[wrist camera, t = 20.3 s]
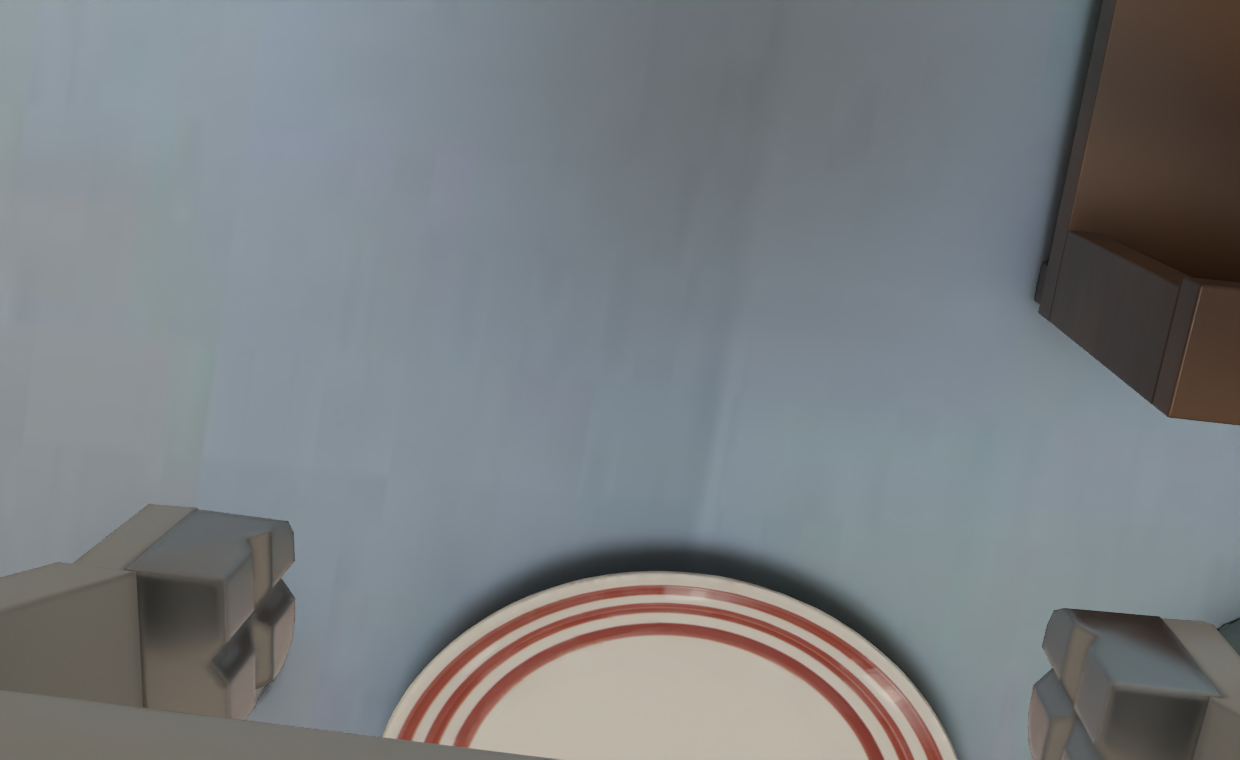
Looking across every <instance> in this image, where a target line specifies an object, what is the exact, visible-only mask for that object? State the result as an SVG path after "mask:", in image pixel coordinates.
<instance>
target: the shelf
mask: <svg viewBox="0 0 1240 760" xmlns="http://www.w3.org/2000/svg"><path fill="white" fill-rule="evenodd" d="M1035 301H1036V302H1038V303H1039V304H1040V306H1039V311H1038V312H1039V313H1040V314H1041V315H1042V316H1043V317H1044V318H1046V319H1047V320H1048V321H1050V322H1051V323H1052V324H1053V325H1055V326H1056V327H1057V328H1058V329H1060V330H1061V331H1062V332H1063V333H1065V334H1066V335H1067V336H1068V337H1069V338H1071V339H1072V340H1073V341H1074V342H1076V343H1077V344H1078V345H1079V346H1081V347H1082V348H1083V349H1084V350H1086V351H1087V352H1088V353H1089V354H1090V355H1092V356H1093V357H1094V358H1095V359H1097V360H1098V361H1099V362H1100V363H1102V364H1103V365H1104V366H1105V367H1106V368H1108V369H1109V370H1110V371H1111V372H1113V373H1114V374H1115V375H1116V376H1118V377H1119V378H1120V379H1121V380H1123V381H1124V382H1125V383H1126V384H1127V385H1129V386H1130V387H1131V388H1132V389H1134V390H1135V391H1136V392H1137V393H1139V394H1140V395H1141V396H1142V397H1144V398H1145V399H1146V400H1147V401H1148V402H1150V403H1151V404H1153V405H1154V406H1155V407H1156V408H1157V409H1159V410H1160V411H1161V412H1162V413H1163V414H1165V415H1166V416H1167V417H1170V418H1179V419H1188V420H1196V421H1205V422H1214V423H1223V424H1232V425H1240V0H1103V2H1102V7H1101V12H1100V17H1099V21H1098V26H1097V31H1096V36H1095V41H1094V46H1093V50H1092V55H1091V60H1090V65H1089V70H1088V75H1087V79H1086V84H1085V89H1084V94H1083V99H1082V104H1081V108H1080V113H1079V118H1078V123H1077V128H1076V132H1075V137H1074V142H1073V147H1072V152H1071V157H1070V161H1069V166H1068V171H1067V176H1066V181H1065V186H1064V190H1063V195H1062V200H1061V205H1060V210H1059V215H1058V219H1057V224H1056V229H1055V234H1054V239H1053V244H1052V248H1051V253H1050V258H1049V262H1042V265H1041V269H1040V274H1039V279H1038V284H1037V289H1036V294H1035Z"/></svg>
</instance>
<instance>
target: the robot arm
mask: <svg viewBox="0 0 1240 760" xmlns="http://www.w3.org/2000/svg"><path fill="white" fill-rule="evenodd" d="M294 561H295V553H294V532H293V530H292V528H291V526H290V524H289V522H288V521H284V520H276V519H269V518H261V517H253V516H246V515H238V514H230V513H223V512H215V511H208V510H199V509H198V508H194V507H182V506H169V505H156V504H148V505H147V506H146V507H144V508H143V509H142V510H141V511H139V512H138V513H137V514H135V515H134V516H133V517H132V518H130V519H129V520H128V521H126V522H125V523H124V524H123V525H121V526H120V527H119V528H118V529H116V530H115V531H114V532H112V533H111V534H110V535H109V536H107V537H106V538H105V539H103V540H102V541H101V542H100V543H98V544H97V545H96V546H95V547H93V548H92V549H91V550H89V551H88V552H87V553H86V554H84V555H83V556H82V557H80V558H79V559H78V560H77V561H75V562H74V563H73V564H69V563H60V562H57V563H53V564H50V565H46V566H42V567H38V568H35V569H31V570H27V571H23V572H20V573H16V574H12V575H8V576H5V577H1V578H0V760H560V759H552V758H544V757H536V756H528V755H520V754H512V753H504V752H496V751H488V750H480V749H472V748H464V747H456V746H448V745H440V744H432V743H424V742H416V741H408V740H400V739H392V738H384V737H376V736H368V735H360V734H352V733H344V732H336V731H328V730H320V729H312V728H304V727H296V726H288V725H280V724H272V723H264V722H256V721H248V720H246V719H247V718H248V716H249V715H250V714H251V712H252V711H253V709H254V708H255V707H256V693H255V690H256V689H258V688H261V687H263V686H265V685H267V684H270V683H272V682H273V681H274V680H275V678H276V677H277V675H278V674H279V672H280V671H281V669H282V668H283V666H284V663H285V660H286V657H287V654H288V652H289V649H290V646H291V643H292V637H293V630H294V623H295V597H294V596H293V594H292V593H291V592H290V590H289V589H288V587H287V586H286V584H285V583H284V581H283V580H282V579H281V577H282V576H283V575H284V574H285V572H286V571H287V570H288V569H289V567H290V566H291V565H292V564H293V563H294ZM1042 648H1043V650H1044V652H1045V654H1046V656H1047V657H1048V659H1049V661H1050V663H1051V665H1052V667H1053V668H1052V669H1051V670H1050V671H1049V672H1048V673H1046V674H1045V675H1044V676H1043V677H1042V678H1041V679H1040V680H1039V681H1037V682H1036V683H1035V684H1034V686H1033V691H1032V697H1031V702H1030V708H1029V713H1028V741H1029V746H1030V751H1031V756H1032V760H1240V656H1239V655H1238V653H1237V652H1236V651H1235V650H1234V649H1233V648H1232V646H1231V645H1230V644H1229V643H1228V642H1227V641H1226V640H1225V638H1224V637H1223V636H1222V635H1221V634H1220V633H1219V631H1218V630H1217V629H1216V628H1215V627H1214V626H1213V625H1211V624H1209V623H1206V622H1203V621H1192V620H1177V619H1161V618H1160V617H1157V616H1146V615H1135V614H1124V613H1113V612H1102V611H1091V610H1079V609H1068V608H1063V609H1058V610H1054V611H1053V613H1052V616H1051V618H1050V620H1049V622H1048V624H1047V628H1046V632H1045V636H1044V641H1043V645H1042Z"/></svg>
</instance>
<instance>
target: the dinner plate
mask: <svg viewBox="0 0 1240 760" xmlns="http://www.w3.org/2000/svg"><path fill="white" fill-rule="evenodd" d="M382 737H384V738H392V739H400V740H408V741H416V742H424V743H432V744H440V745H448V746H456V747H464V748H472V749H480V750H488V751H496V752H504V753H512V754H520V755H528V756H536V757H544V758H552V759H560V760H958V758H957V755H956V753H955V750H954V748H953V746H952V743H951V741H950V739H949V737H948V735H947V733H946V731H945V729H944V727H943V726H942V724H941V722H940V720H939V719H938V717H937V715H936V714H935V712H934V711H933V709H932V707H931V706H930V704H929V703H928V702H927V700H926V699H925V698H924V696H923V695H922V694H921V693H920V691H919V690H918V689H917V688H916V686H915V685H914V684H913V683H912V682H911V681H910V679H909V678H908V677H907V676H906V675H905V674H904V672H903V671H902V670H901V669H900V668H899V667H898V666H897V665H896V664H895V663H893V662H892V661H891V660H890V659H889V658H888V657H887V656H886V655H885V654H884V653H882V652H881V651H880V650H879V649H878V648H876V647H875V646H874V645H873V644H871V643H870V642H869V641H868V640H866V639H865V638H864V637H862V636H861V635H860V634H858V633H857V632H856V631H854V630H853V629H851V628H850V627H848V626H847V625H844V624H843V623H841V622H840V621H838V620H837V619H836V618H834V617H832V616H830V615H828V614H826V613H825V612H823V611H821V610H819V609H817V608H815V607H813V606H810V605H808V604H806V603H804V602H801V601H799V600H797V599H794V598H792V597H790V596H788V595H785V594H783V593H780V592H777V591H774V590H771V589H768V588H765V587H762V586H758V585H755V584H752V583H748V582H744V581H740V580H736V579H732V578H727V577H722V576H716V575H709V574H701V573H690V572H675V571H637V572H624V573H614V574H607V575H602V576H596V577H590V578H584V579H580V580H576V581H573V582H569V583H565V584H562V585H559V586H555V587H552V588H549V589H546V590H543V591H541V592H538V593H535V594H532V595H529V596H527V597H525V598H523V599H520V600H518V601H516V602H514V603H511V604H510V605H508V606H506V607H504V608H502V609H500V610H498V611H496V612H494V613H493V614H491V615H489V616H488V617H486V618H485V619H483V620H482V621H480V622H479V623H477V624H475V625H474V626H472V627H471V628H469V629H468V630H466V631H465V632H464V633H462V634H461V635H460V636H459V637H457V638H456V639H455V640H454V641H452V642H451V643H450V644H449V645H447V646H446V647H445V648H444V649H443V650H442V651H441V652H440V653H439V654H438V655H437V656H436V657H435V658H434V659H433V660H431V661H430V662H429V664H428V665H427V666H426V667H425V668H424V669H423V670H422V671H421V672H420V674H419V675H418V676H417V677H416V678H415V680H414V681H413V682H412V683H411V685H410V686H409V687H408V689H407V690H406V692H405V693H404V695H403V696H402V698H401V700H400V701H399V703H398V705H397V706H396V708H395V710H394V712H393V714H392V716H391V718H390V720H389V722H388V724H387V726H386V728H385V731H384V733H383V736H382Z"/></svg>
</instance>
